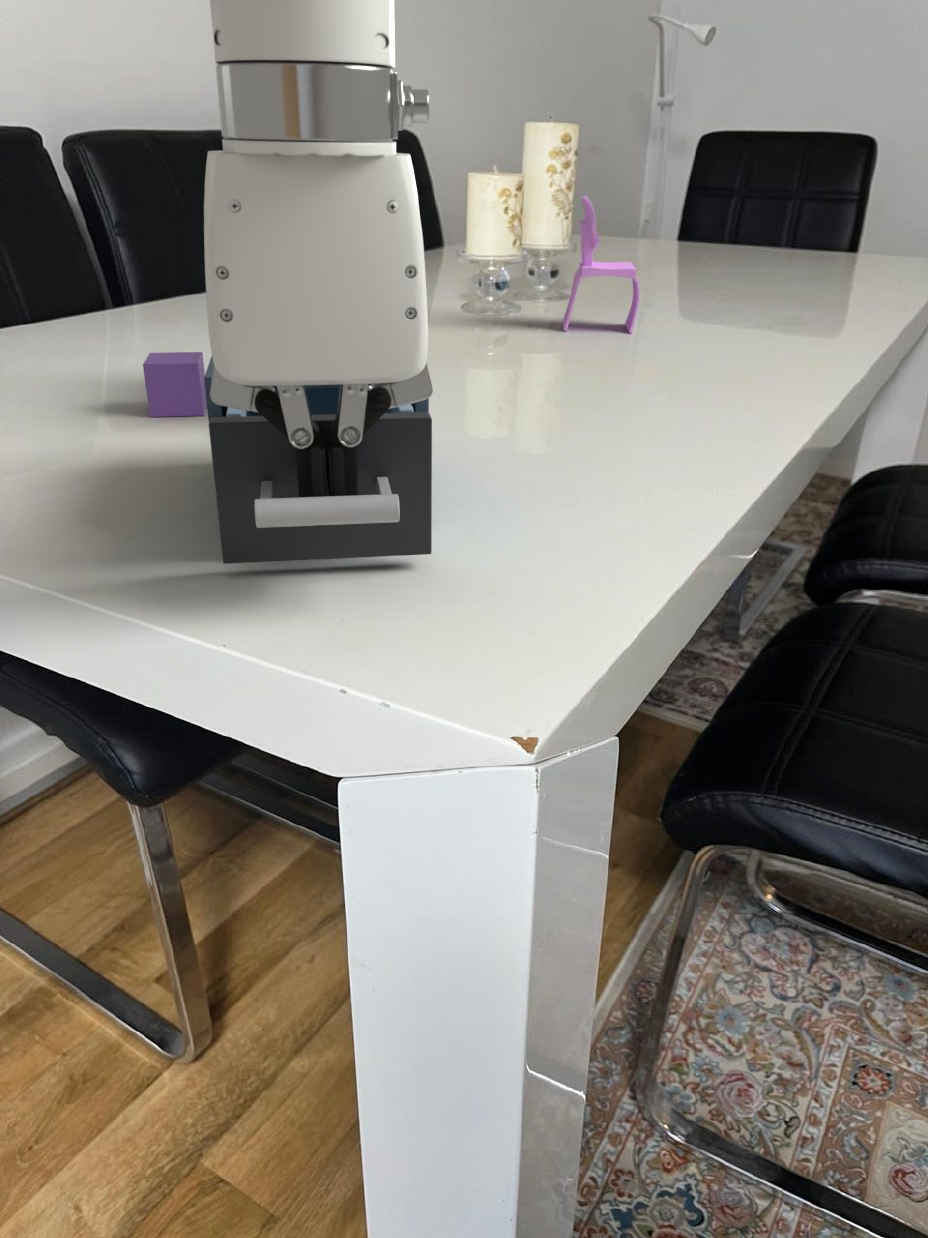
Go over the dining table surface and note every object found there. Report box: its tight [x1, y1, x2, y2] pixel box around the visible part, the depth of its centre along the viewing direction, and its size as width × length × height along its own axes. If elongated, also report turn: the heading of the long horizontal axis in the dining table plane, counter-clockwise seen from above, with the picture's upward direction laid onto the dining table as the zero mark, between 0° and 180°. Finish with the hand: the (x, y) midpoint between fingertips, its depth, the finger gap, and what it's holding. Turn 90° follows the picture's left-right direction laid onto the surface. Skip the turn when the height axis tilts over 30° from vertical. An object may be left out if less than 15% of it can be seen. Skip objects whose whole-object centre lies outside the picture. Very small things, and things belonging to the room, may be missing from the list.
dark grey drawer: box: [208, 389, 433, 565], centre depth 55 cm, size 18×11×8 cm, turn 9°
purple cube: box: [142, 351, 207, 418], centre depth 82 cm, size 4×4×4 cm
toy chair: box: [562, 195, 640, 334], centre depth 116 cm, size 8×9×15 cm
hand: (329, 513), depth 50 cm, fingers closed
